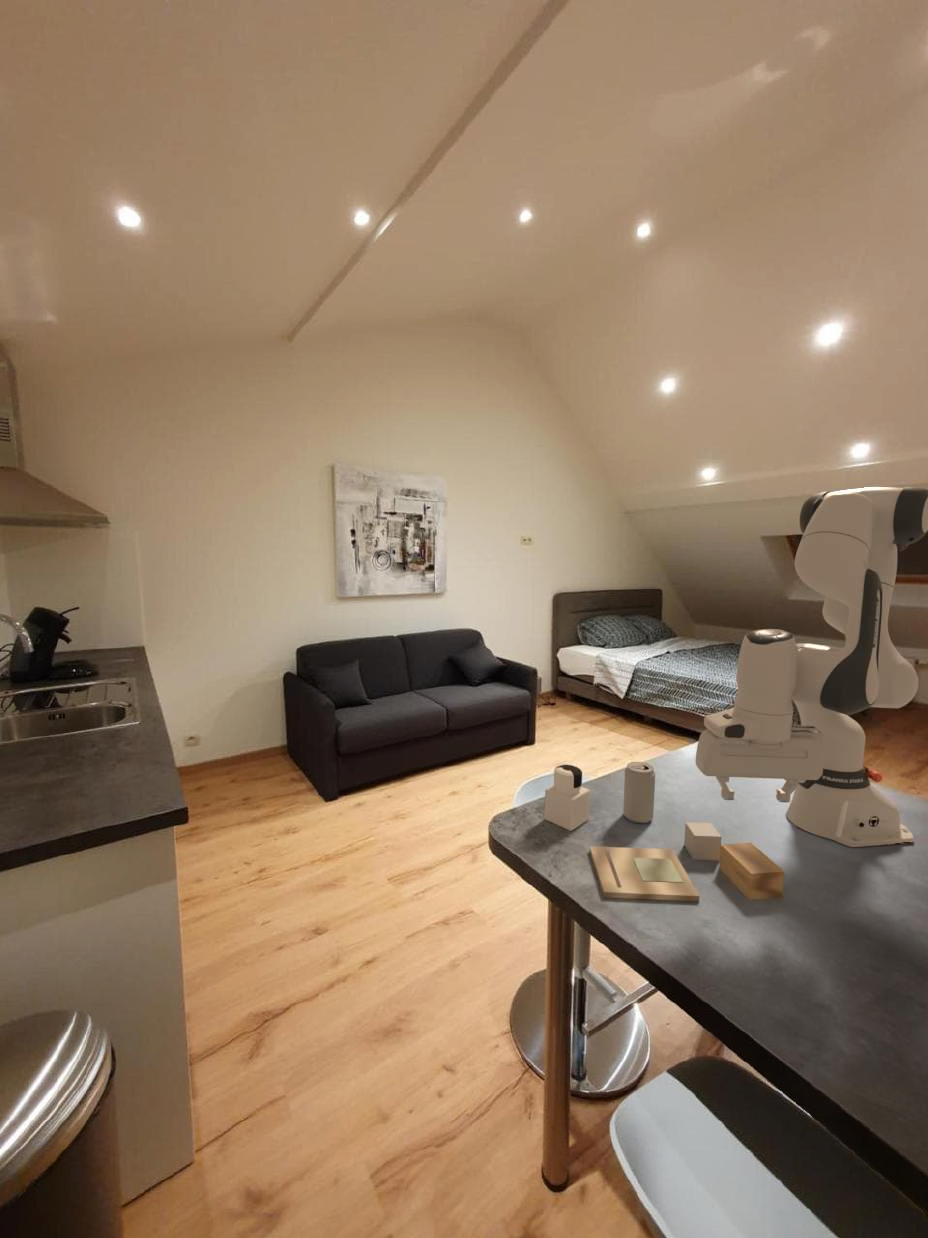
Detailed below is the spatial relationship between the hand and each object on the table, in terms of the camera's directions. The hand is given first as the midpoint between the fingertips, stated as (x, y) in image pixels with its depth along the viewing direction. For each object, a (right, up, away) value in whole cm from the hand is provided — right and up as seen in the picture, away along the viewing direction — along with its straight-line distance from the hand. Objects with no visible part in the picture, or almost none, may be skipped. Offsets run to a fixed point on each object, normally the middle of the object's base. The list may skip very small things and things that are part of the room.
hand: (754, 800), depth 92 cm
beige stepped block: (-28, -13, +24) cm, 39 cm away
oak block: (0, -16, +2) cm, 16 cm away
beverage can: (-12, -13, +25) cm, 31 cm away
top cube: (-4, -14, +11) cm, 19 cm away
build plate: (-19, -15, +4) cm, 25 cm away
